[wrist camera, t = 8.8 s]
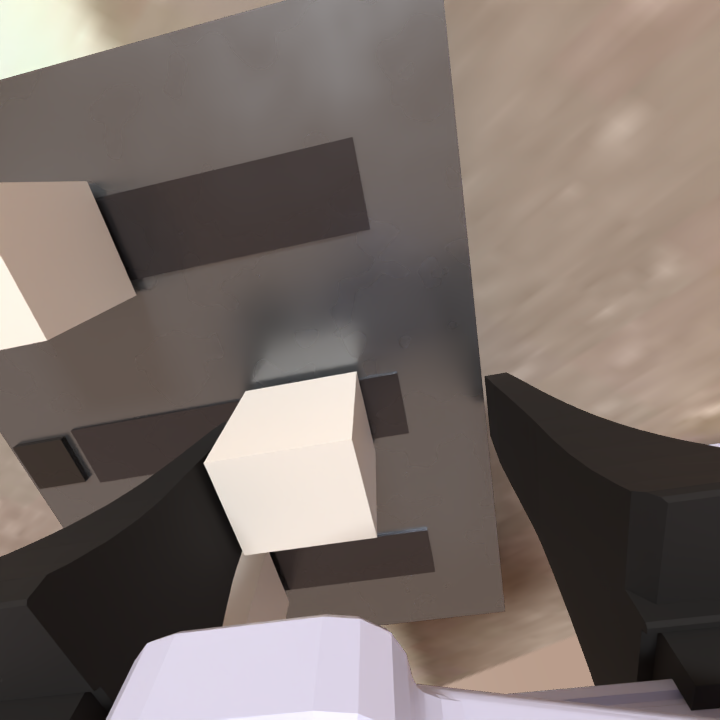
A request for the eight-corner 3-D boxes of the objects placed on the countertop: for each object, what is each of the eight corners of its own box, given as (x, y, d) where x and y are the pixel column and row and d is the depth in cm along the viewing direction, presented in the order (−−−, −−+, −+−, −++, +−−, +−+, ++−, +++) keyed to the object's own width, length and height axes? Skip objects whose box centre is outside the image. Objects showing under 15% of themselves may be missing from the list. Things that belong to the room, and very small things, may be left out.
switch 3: (356, 371, 12) (351, 439, 9) (375, 452, 14) (377, 537, 10) (245, 391, 13) (203, 463, 10) (273, 468, 14) (244, 555, 11)
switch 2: (267, 548, 15) (240, 645, 12) (289, 601, 17) (269, 703, 13) (179, 559, 16) (131, 657, 13) (207, 611, 17) (169, 712, 14)
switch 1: (86, 181, 10) (-40, 183, 7) (136, 295, 12) (47, 340, 8) (-36, 210, 11) (-208, 225, 8) (25, 318, 12) (-102, 370, 9)
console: (427, -5, 11) (440, -48, 9) (492, 568, 19) (506, 616, 17) (-111, 141, 12) (-207, 133, 10) (165, 609, 20) (142, 656, 18)
